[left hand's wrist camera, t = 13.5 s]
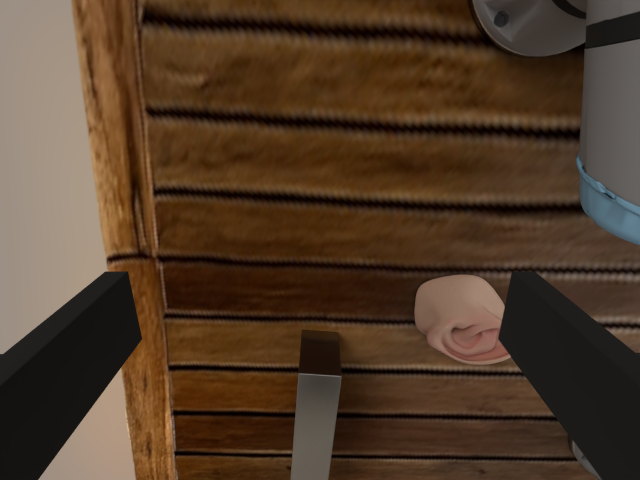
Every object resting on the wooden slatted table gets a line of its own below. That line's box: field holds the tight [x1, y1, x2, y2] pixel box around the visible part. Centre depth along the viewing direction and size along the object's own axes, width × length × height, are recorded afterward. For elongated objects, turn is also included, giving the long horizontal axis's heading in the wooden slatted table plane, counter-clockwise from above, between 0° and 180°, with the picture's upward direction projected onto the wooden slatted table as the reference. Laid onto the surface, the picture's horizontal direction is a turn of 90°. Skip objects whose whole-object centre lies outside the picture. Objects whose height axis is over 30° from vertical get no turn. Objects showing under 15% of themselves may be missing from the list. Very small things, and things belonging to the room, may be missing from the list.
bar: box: [291, 330, 342, 480], centre depth 49 cm, size 22×5×8 cm, turn 175°
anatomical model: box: [414, 275, 511, 365], centre depth 46 cm, size 13×4×12 cm
